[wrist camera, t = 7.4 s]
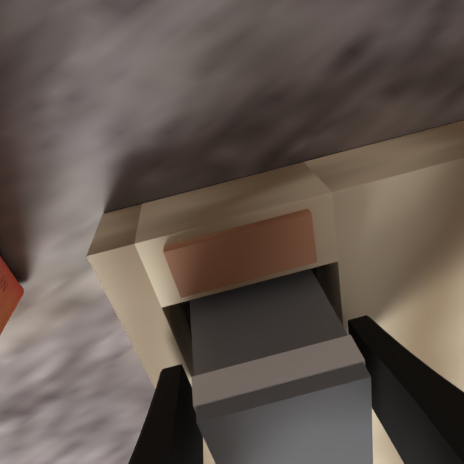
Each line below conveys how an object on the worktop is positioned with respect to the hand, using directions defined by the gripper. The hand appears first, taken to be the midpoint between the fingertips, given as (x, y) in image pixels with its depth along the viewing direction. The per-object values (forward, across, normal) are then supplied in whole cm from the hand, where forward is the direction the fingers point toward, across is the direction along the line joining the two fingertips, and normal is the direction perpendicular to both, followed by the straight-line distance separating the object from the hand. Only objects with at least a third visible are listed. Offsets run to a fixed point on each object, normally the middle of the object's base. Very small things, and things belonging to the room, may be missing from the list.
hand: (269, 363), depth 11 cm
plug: (+3, 0, 0) cm, 3 cm away
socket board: (+3, -3, +4) cm, 6 cm away
